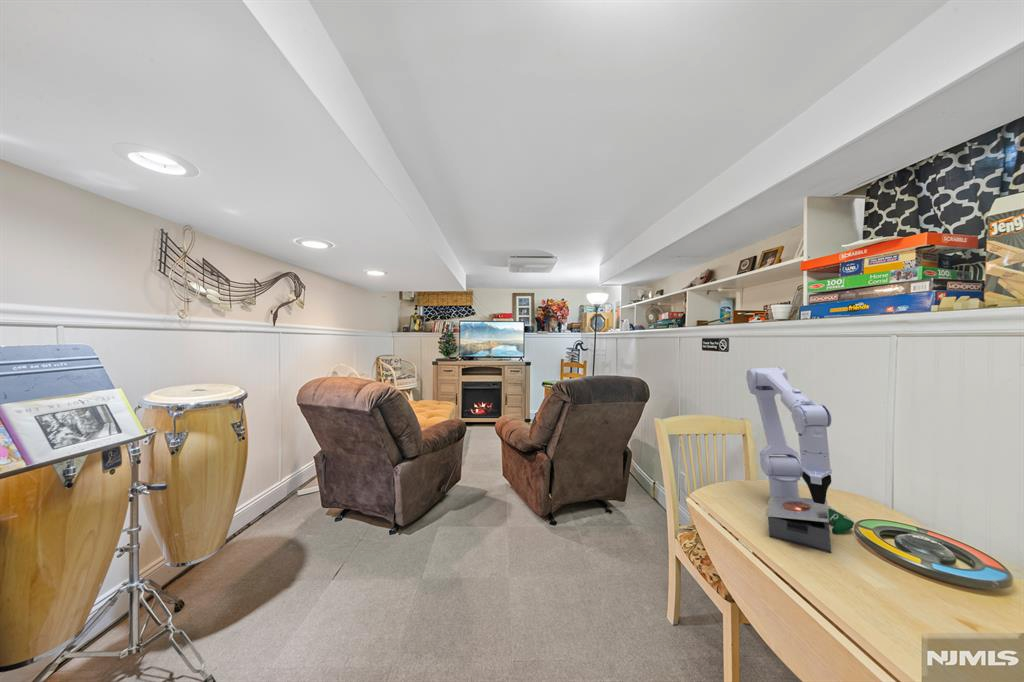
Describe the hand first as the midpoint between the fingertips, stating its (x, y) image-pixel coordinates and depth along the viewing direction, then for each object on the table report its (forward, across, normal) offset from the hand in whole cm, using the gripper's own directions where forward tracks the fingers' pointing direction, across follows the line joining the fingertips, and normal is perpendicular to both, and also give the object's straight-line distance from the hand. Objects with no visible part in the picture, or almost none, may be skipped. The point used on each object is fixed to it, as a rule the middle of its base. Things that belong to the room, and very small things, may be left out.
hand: (819, 502), depth 86 cm
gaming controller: (+10, -10, +2) cm, 15 cm away
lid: (+3, 0, -5) cm, 6 cm away
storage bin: (+10, 0, -4) cm, 11 cm away
